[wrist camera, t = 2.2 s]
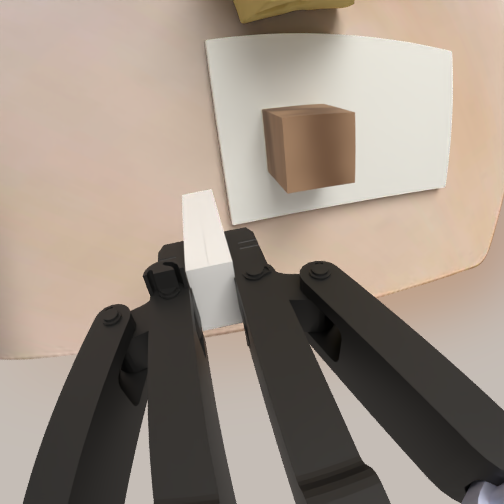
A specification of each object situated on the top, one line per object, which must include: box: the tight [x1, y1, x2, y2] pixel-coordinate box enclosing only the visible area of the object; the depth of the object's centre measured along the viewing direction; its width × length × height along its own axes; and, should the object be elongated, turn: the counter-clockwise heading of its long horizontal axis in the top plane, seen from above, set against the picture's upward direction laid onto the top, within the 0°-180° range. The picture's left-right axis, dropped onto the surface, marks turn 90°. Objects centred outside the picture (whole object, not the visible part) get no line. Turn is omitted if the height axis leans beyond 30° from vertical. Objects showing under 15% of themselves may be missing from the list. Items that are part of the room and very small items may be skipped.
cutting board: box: [205, 33, 453, 225], centre depth 29 cm, size 28×18×1 cm, turn 97°
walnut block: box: [261, 104, 356, 194], centre depth 25 cm, size 6×6×6 cm
